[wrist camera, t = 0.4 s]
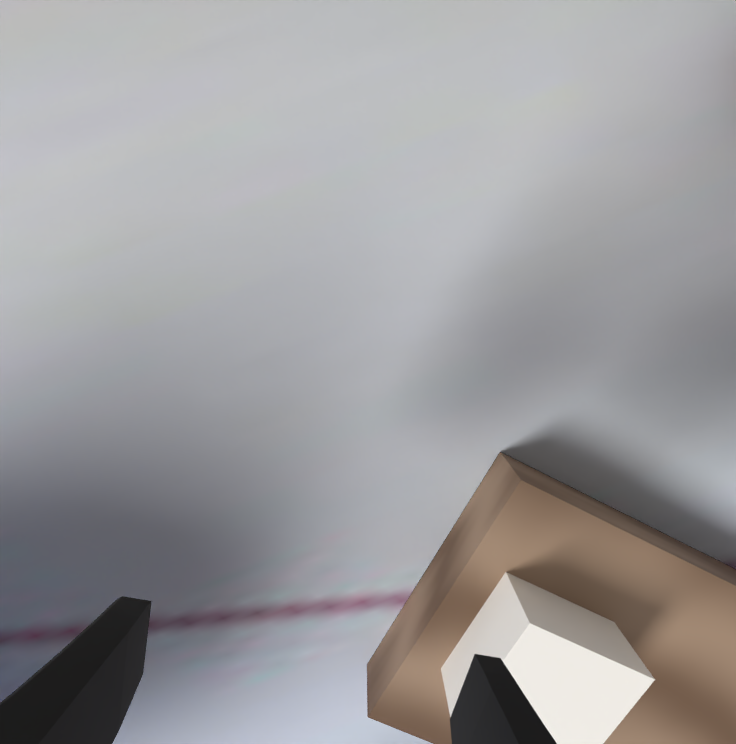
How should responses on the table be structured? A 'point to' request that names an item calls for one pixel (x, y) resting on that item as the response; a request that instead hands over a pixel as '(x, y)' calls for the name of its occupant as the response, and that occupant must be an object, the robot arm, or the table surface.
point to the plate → (580, 586)
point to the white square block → (554, 660)
